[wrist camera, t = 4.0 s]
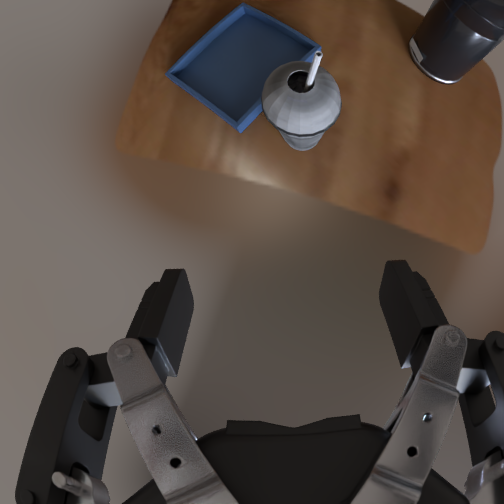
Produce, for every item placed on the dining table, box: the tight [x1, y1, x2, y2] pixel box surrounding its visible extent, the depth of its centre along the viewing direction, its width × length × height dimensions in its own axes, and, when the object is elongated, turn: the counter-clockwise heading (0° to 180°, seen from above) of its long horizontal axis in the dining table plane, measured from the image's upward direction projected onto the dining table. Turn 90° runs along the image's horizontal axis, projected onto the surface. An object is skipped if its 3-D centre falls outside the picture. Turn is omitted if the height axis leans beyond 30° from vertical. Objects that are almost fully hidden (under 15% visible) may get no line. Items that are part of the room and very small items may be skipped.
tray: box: [165, 3, 321, 133], centre depth 34 cm, size 16×14×2 cm
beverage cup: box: [261, 51, 342, 151], centre depth 25 cm, size 7×7×20 cm
